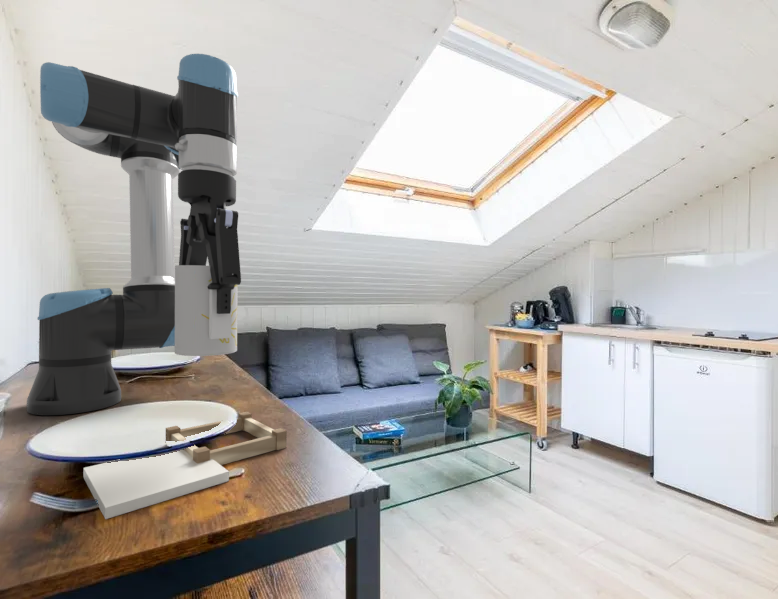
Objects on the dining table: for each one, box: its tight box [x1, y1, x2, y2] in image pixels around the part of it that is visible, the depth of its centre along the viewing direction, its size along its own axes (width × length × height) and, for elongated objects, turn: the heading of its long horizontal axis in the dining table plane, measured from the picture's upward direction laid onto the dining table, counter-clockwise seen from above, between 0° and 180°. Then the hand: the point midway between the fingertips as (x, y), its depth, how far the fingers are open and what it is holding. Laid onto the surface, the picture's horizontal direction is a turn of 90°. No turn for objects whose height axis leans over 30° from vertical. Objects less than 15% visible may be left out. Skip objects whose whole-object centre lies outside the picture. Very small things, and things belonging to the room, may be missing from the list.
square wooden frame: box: [165, 411, 288, 466], centre depth 64 cm, size 13×13×3 cm
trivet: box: [82, 450, 230, 520], centre depth 52 cm, size 13×13×1 cm
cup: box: [174, 264, 239, 357], centre depth 59 cm, size 8×8×12 cm
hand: (206, 335), depth 59 cm, fingers closed on cup, 8 cm apart
